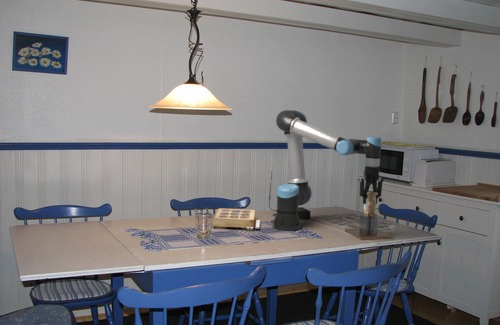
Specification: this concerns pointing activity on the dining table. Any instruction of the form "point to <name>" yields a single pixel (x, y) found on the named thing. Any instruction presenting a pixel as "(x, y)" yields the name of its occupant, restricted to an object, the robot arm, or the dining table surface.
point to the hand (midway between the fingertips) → (369, 209)
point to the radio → (302, 212)
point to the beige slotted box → (235, 219)
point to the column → (370, 204)
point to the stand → (368, 229)
